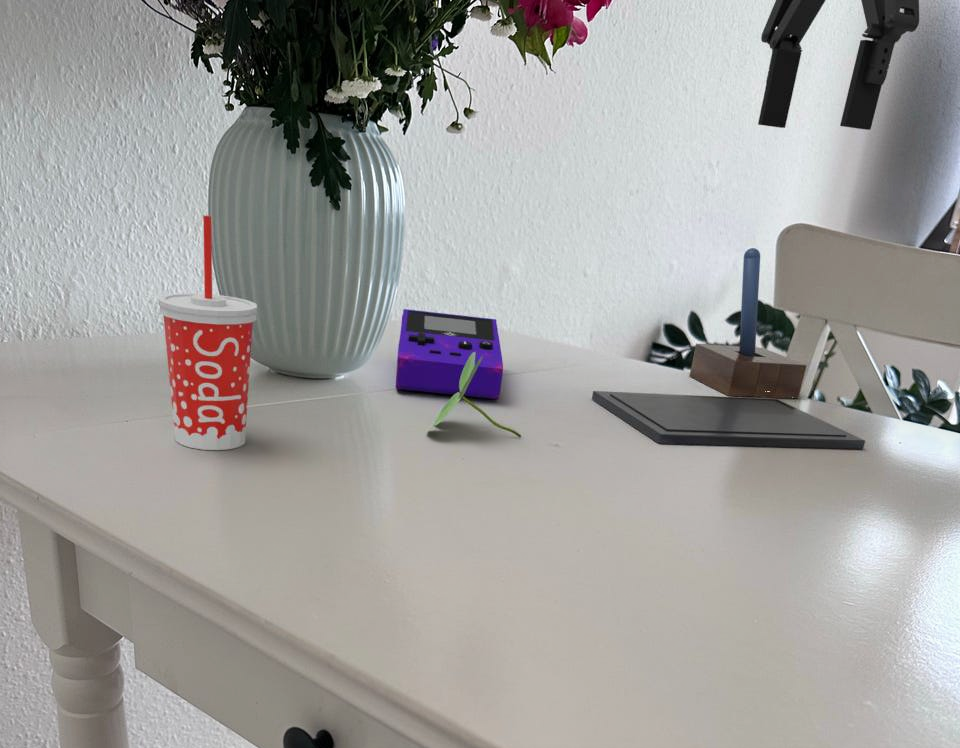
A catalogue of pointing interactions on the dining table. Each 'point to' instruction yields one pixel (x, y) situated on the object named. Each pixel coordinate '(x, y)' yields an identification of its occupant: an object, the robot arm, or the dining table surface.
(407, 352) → the handheld gaming console
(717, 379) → the pen stand
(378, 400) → the dining table surface
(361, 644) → the dining table surface
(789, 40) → the robot arm
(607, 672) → the dining table surface
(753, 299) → the stylus
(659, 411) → the tablet
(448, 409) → the seedling
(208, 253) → the beverage cup
